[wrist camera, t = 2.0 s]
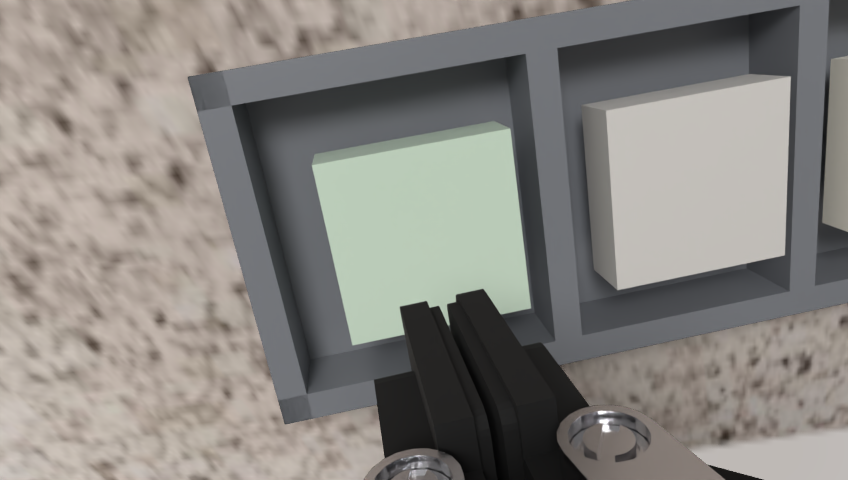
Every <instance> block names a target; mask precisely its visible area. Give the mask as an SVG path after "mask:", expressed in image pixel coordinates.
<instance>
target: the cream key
mask: <svg viewBox="0 0 848 480" xmlns="http://www.w3.org/2000/svg"><path fill="white" fill-rule="evenodd" d="M822 223H824V224H827V225H830V226H833V227H835V228H838V229H841V230H844V231H847V232H848V56H845V57H839V58H834V59H831V67H830V86H829V104H828V123H827V142H826V161H825V179H824V198H823V217H822Z"/></svg>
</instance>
